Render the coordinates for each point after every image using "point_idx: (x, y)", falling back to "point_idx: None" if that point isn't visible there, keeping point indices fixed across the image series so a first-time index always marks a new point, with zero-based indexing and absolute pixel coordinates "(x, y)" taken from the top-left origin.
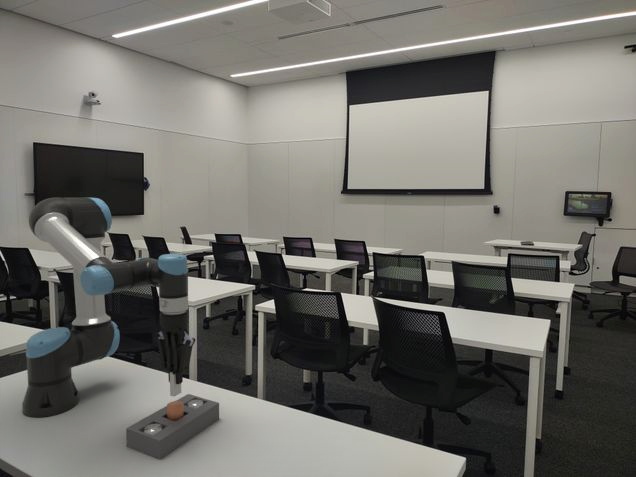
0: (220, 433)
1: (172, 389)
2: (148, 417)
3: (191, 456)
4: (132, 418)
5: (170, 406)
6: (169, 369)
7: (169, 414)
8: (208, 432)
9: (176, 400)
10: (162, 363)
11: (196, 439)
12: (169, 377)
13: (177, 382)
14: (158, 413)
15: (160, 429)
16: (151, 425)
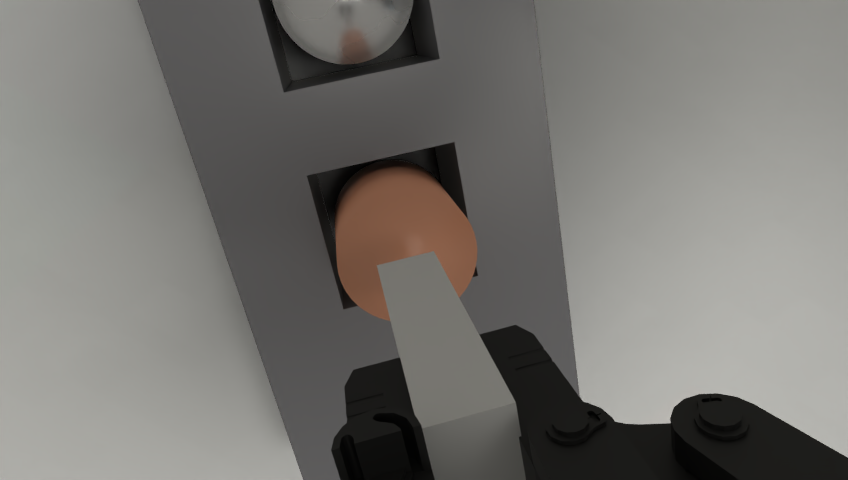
0: (173, 363)
1: (412, 290)
2: (522, 64)
3: (50, 104)
4: (731, 102)
5: (409, 212)
6: (554, 443)
7: (387, 177)
8: (235, 323)
9: (572, 341)
10: (795, 451)
11: (216, 234)
12: (531, 362)
13: (370, 379)
14: (514, 153)
15: (281, 23)
16: (391, 6)
